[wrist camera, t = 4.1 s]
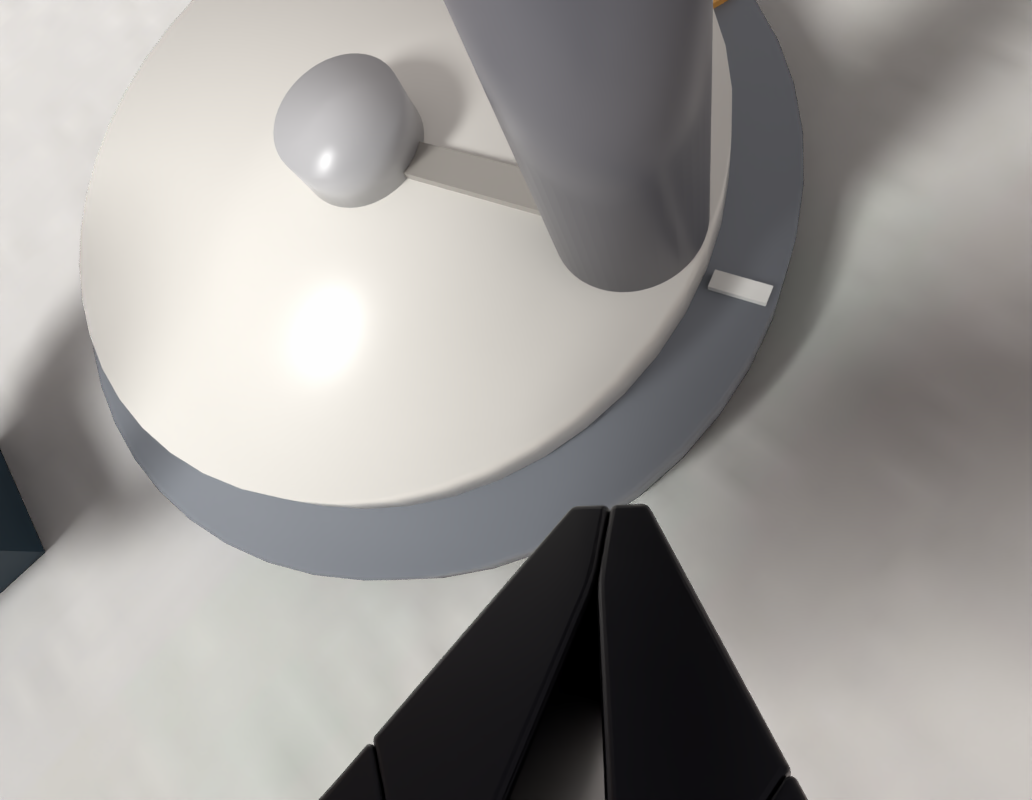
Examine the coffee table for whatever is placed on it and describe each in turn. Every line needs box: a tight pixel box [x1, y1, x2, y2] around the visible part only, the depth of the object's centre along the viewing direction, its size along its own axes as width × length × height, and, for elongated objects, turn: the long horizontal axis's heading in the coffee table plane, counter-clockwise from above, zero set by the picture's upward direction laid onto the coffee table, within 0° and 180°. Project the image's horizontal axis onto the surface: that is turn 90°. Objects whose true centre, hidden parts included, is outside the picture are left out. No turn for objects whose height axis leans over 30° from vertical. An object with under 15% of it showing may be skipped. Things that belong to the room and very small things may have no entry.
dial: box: [79, 0, 732, 509], centre depth 11 cm, size 16×16×10 cm
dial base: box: [93, 0, 804, 580], centre depth 17 cm, size 19×19×2 cm
